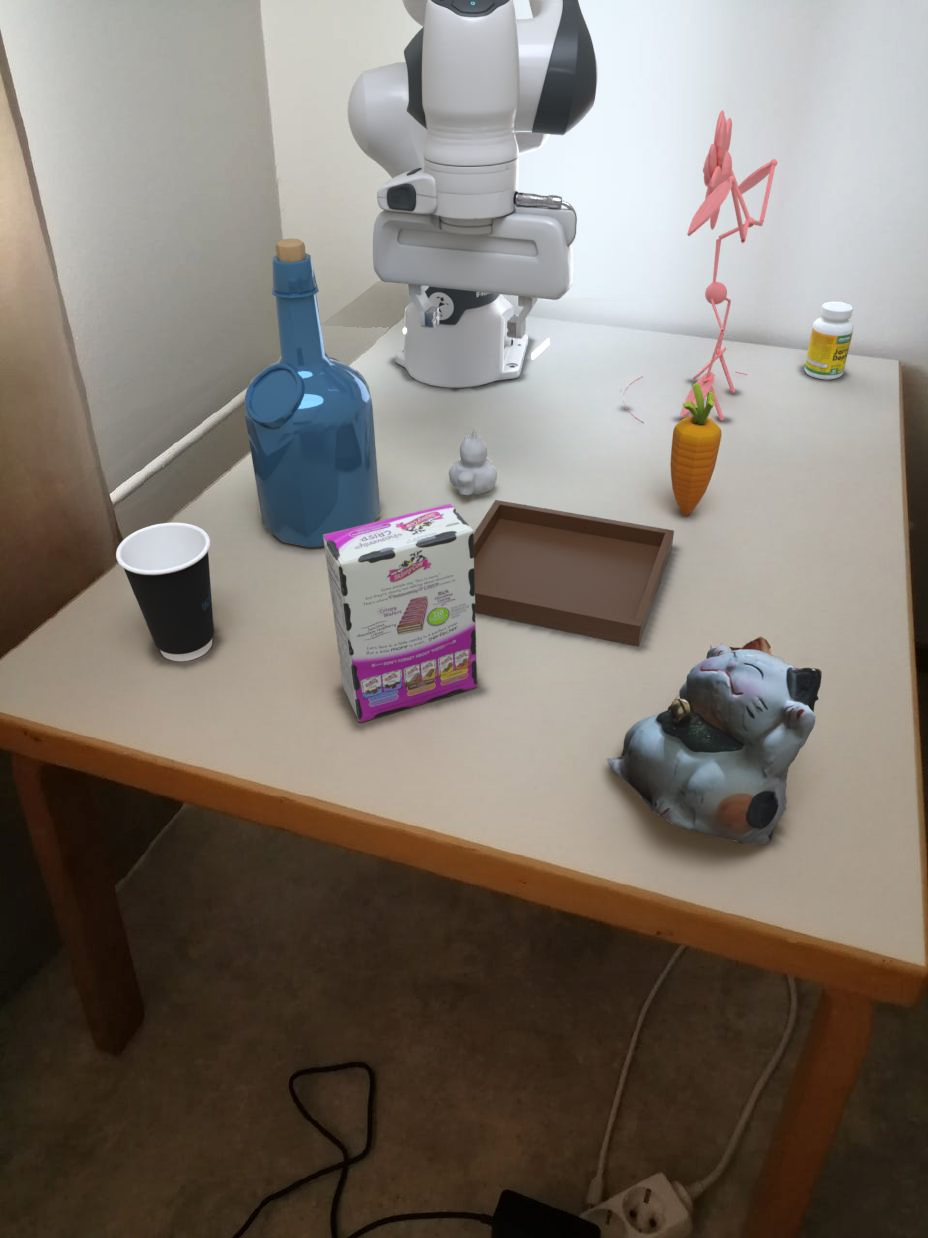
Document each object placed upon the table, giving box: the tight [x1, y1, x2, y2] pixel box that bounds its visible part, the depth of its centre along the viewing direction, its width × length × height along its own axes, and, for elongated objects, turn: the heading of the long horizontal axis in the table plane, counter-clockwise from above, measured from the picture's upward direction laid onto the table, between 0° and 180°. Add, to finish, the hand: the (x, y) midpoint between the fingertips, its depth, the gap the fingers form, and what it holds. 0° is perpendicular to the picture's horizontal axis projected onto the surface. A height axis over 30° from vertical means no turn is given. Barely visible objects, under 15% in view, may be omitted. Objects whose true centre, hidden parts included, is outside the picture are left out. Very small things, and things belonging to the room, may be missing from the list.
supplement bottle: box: [804, 300, 854, 380], centre depth 135 cm, size 5×5×10 cm
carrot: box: [670, 382, 723, 517], centre depth 103 cm, size 5×5×15 cm
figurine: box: [619, 109, 778, 424], centre depth 121 cm, size 15×26×35 cm, turn 159°
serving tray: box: [473, 499, 675, 647], centre depth 98 cm, size 17×20×2 cm
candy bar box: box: [323, 503, 478, 723], centre depth 80 cm, size 11×5×16 cm, turn 114°
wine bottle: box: [244, 238, 381, 548], centre depth 99 cm, size 14×13×30 cm
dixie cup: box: [115, 522, 215, 662], centre depth 87 cm, size 8×8×11 cm
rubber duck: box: [448, 426, 498, 496], centre depth 110 cm, size 5×7×8 cm
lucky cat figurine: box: [606, 636, 823, 845], centre depth 72 cm, size 15×12×14 cm
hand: (472, 331), depth 101 cm, fingers open, 8 cm apart
